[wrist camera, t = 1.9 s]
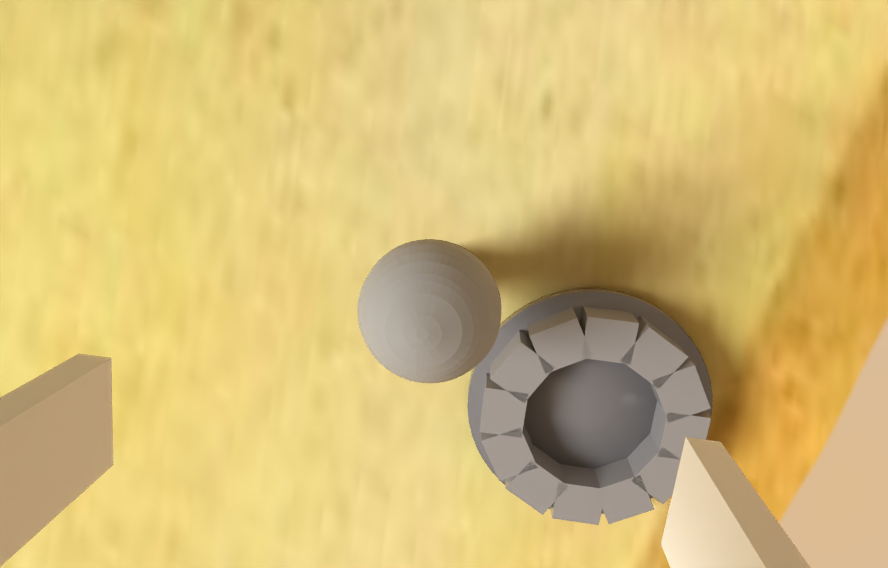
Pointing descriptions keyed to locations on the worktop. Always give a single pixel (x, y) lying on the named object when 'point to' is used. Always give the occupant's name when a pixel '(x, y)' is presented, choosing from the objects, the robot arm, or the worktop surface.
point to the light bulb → (429, 311)
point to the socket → (589, 404)
